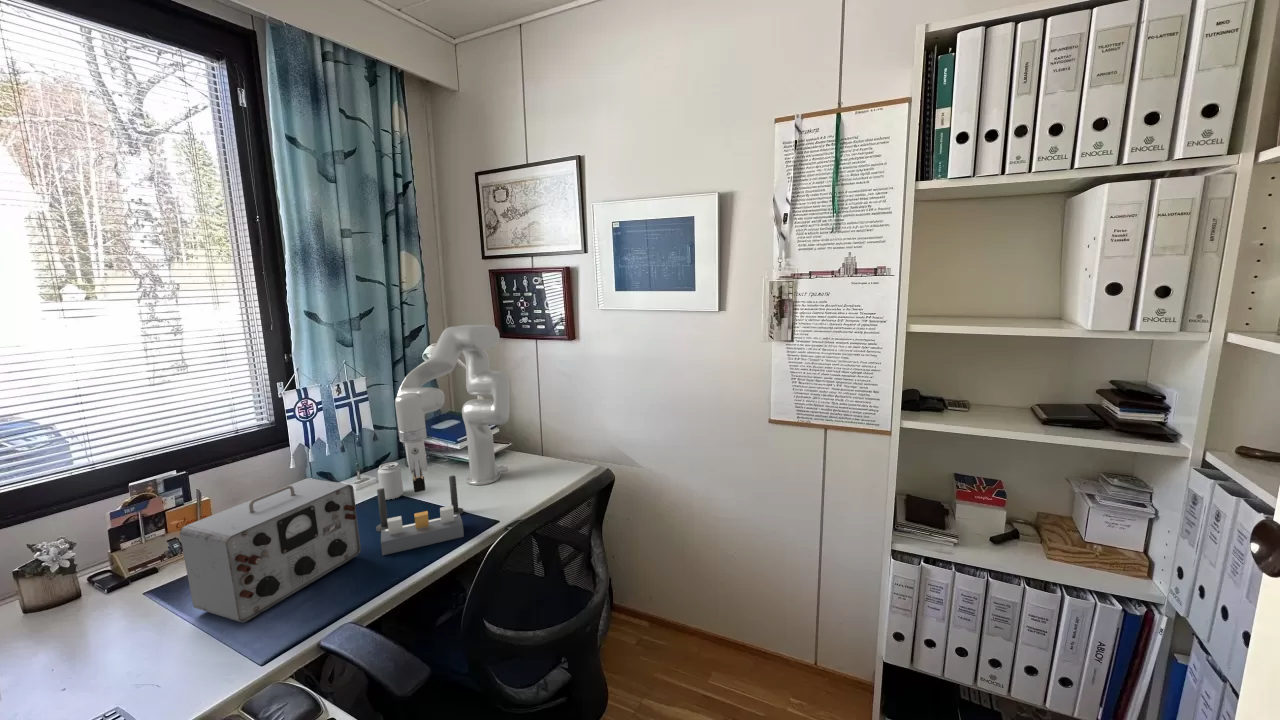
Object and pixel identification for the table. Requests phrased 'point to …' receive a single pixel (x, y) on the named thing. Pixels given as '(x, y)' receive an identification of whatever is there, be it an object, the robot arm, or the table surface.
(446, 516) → the lever right
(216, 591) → the vintage electronic device
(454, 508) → the post
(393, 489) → the can
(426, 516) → the lever
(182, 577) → the table surface
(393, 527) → the lever left
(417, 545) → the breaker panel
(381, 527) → the post
